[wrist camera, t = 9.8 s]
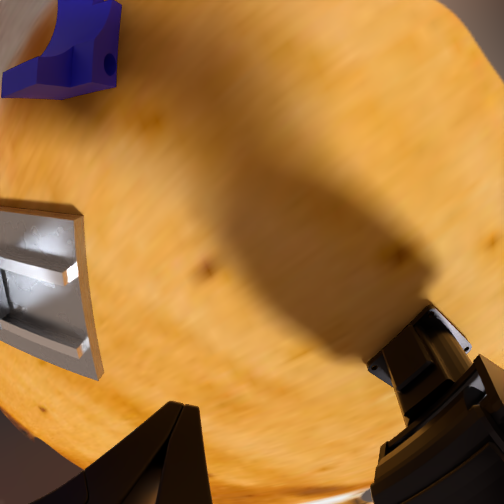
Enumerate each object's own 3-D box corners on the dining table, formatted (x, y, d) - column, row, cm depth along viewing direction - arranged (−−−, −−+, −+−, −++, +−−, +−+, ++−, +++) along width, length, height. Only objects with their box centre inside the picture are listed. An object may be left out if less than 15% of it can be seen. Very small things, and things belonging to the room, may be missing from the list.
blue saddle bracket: (117, 87, 16) (57, 76, 11) (63, 100, 17) (1, 98, 11) (133, -57, 12) (93, -95, 6) (81, -38, 12) (35, -65, 7)
